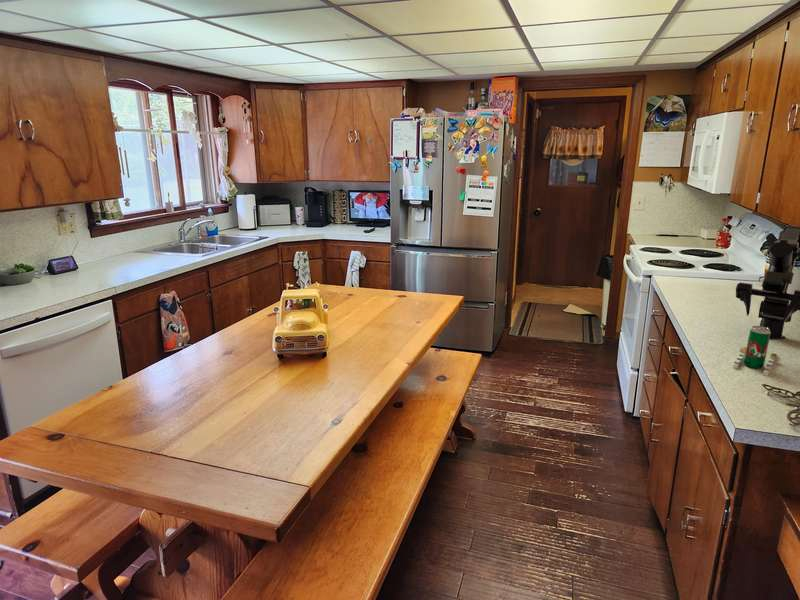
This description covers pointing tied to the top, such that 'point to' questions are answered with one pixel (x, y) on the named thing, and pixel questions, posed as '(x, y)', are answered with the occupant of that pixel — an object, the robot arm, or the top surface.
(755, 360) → the soda can
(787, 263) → the robot arm
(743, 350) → the tabs
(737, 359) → the fader track
